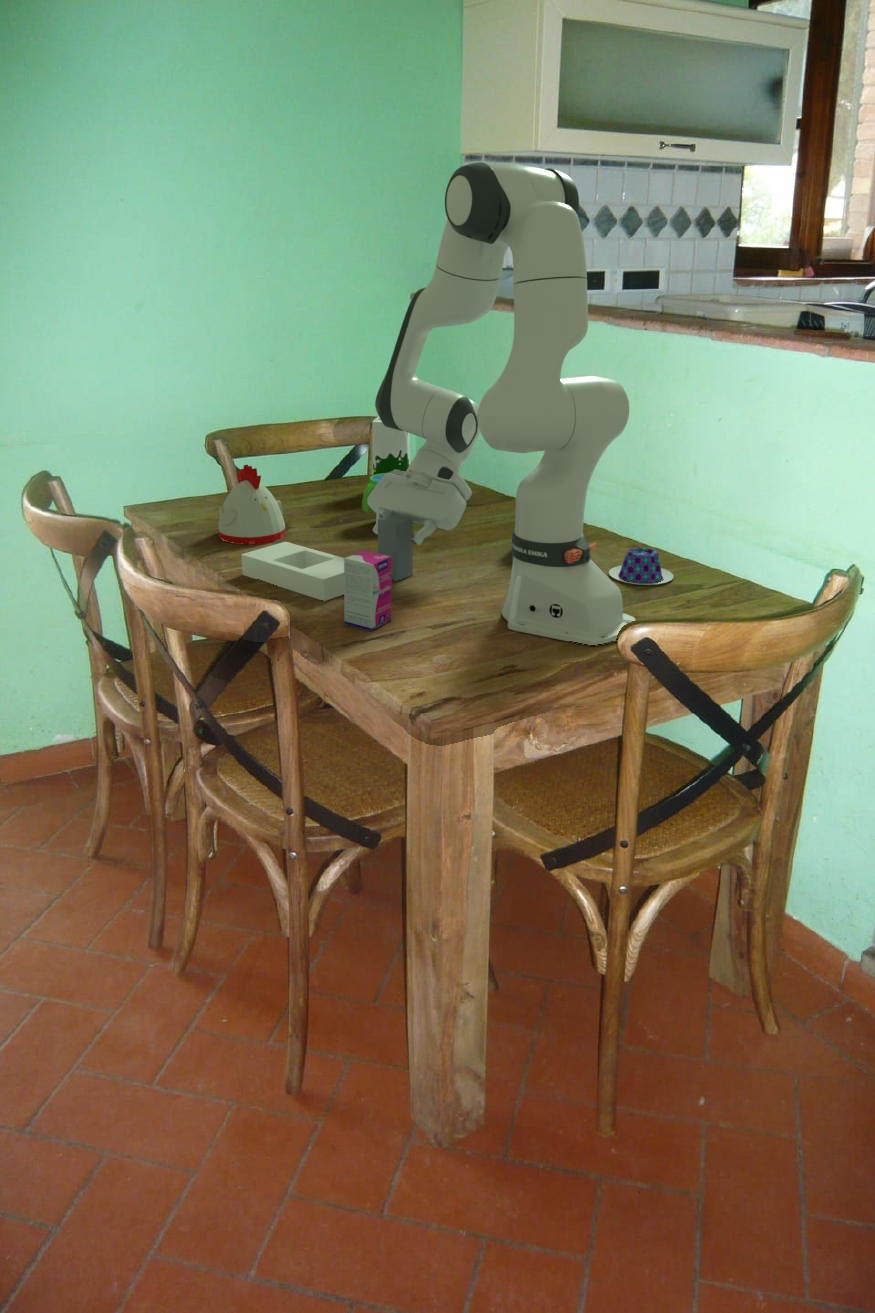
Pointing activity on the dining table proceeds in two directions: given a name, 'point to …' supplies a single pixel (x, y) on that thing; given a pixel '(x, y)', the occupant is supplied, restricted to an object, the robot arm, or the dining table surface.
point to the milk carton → (389, 448)
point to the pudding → (641, 568)
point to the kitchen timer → (251, 512)
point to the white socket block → (297, 569)
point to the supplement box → (367, 590)
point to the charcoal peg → (396, 544)
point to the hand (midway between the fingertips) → (395, 537)
